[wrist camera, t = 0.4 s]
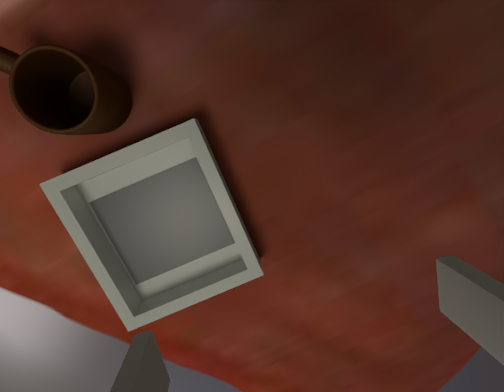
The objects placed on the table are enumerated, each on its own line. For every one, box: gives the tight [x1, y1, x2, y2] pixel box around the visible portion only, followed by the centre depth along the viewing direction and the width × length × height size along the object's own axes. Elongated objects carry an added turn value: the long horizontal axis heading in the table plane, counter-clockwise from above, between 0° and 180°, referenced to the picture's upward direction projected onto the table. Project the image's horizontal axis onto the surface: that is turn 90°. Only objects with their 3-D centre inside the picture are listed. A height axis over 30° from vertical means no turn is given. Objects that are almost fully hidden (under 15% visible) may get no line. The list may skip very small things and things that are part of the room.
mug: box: [0, 45, 131, 135], centre depth 30 cm, size 12×8×9 cm, turn 61°
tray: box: [39, 119, 264, 332], centre depth 36 cm, size 20×18×4 cm
